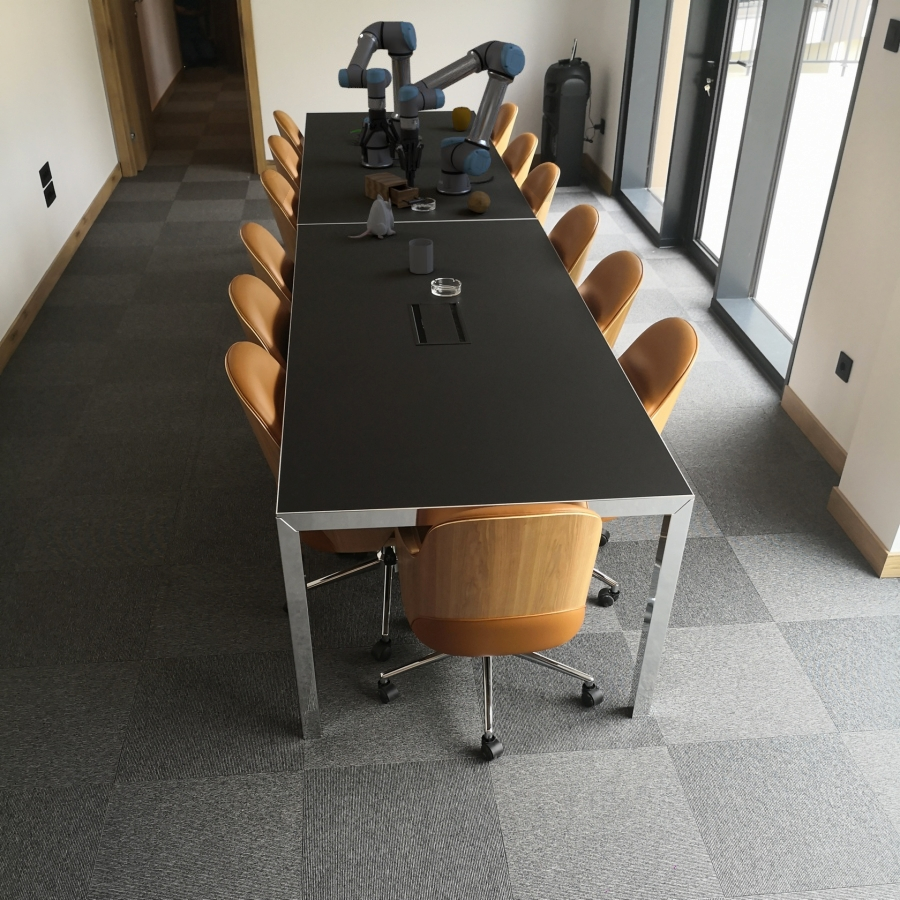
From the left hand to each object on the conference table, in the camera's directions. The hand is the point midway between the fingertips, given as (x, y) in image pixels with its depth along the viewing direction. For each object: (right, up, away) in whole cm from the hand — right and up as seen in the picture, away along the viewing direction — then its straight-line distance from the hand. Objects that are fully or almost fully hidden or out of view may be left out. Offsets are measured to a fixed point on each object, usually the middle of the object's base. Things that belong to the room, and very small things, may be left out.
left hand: (379, 160), depth 376 cm
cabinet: (+3, -15, +5) cm, 16 cm away
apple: (+37, +55, +115) cm, 133 cm away
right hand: (+14, -16, -13) cm, 25 cm away
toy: (0, -44, -40) cm, 59 cm away
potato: (+43, -26, -11) cm, 51 cm away
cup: (+21, -62, -68) cm, 94 cm away
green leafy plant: (-9, +40, +91) cm, 100 cm away
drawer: (+10, -20, -4) cm, 22 cm away
